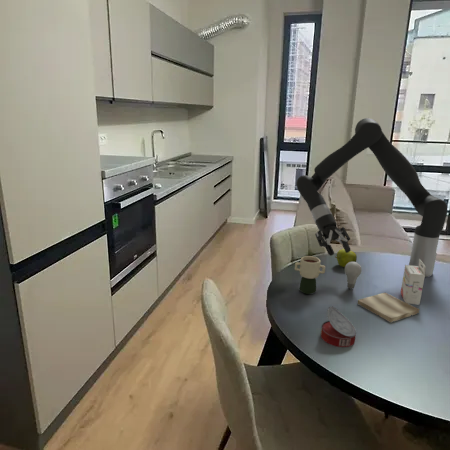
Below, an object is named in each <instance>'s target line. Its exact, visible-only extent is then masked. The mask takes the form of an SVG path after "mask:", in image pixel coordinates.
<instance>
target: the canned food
mask: <svg viewBox="0 0 450 450" xmlns="http://www.w3.org/2000/svg"><path fill="white" fill-rule="evenodd" d="M326 315H327V316H326V317H327V319H328V320H326V321H325V322H323V323H322V324H321V331H320V338H321V339H322V340H323V341H324V342H325V343H327V344H328V345H330V346H332V347H338V348H349V347H351V346H353V345H354V344H355V342H356V337H357V336H356V334H357V330H356V327H355V326H354V325H353V323H352V322H351V321H350V319H348V318H347V317H346V316H345V315H344V314H343V313H342V312H341V311H339V310H338V309H337V308H336V307H334V306H329V307H328V309H327V314H326Z"/></svg>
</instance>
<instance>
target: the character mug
mask: <svg viewBox="0 0 450 450" xmlns="http://www.w3.org/2000/svg"><path fill="white" fill-rule="evenodd" d="M321 262H322V261H321V259H320V258H319V257H317V256H311V255H306V256H302V257H300V262H298V261H296V262H295V264H294V271H296V272H299V275H300V276H301V279H300V283H299V287H298V289H299V291H300V292H301V293H303V294H307V295H311V294H312V295H313V294H315V293H316V292H317V278H318V277H319V276H320V274H321V275H324V274H325V272H326V266H325V265H323V264H321ZM298 266H299V268H298Z"/></svg>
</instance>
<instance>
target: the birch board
mask: <svg viewBox="0 0 450 450" xmlns="http://www.w3.org/2000/svg"><path fill="white" fill-rule="evenodd" d="M357 305H359V306H361V307H362V308H365V309H366V310H367V311H369V312H372V313H373V314H375V315H377V316H378V315H379V316H378V317H381V318H382V319H384V320H385V321H387V322H388V323H393V321H394V322H397V321H399V320H402V319H406V318H409V317H412V316H414V315H417V313H418V314H419V313H420V309H419V307H415V306H413V304H408V303H405V301H404V300H402V299H399V298H397V297H395V296H393V295H391V294H389V293H387V292H382V293H377V294H375V295H371V296H366V297H364V298H360V299H359V298H358V299H357ZM411 315H412V316H411Z"/></svg>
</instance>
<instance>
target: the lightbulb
mask: <svg viewBox="0 0 450 450" xmlns="http://www.w3.org/2000/svg"><path fill="white" fill-rule="evenodd" d="M362 271H363V270H362V266H361V264H360V263H358V262H357V261H356V262H349V263H347V264H346V266H345V267H344V273H345V275H346V282H347V285H346V287H347V288H348V289H349V290H353V289H354V288H355V285H356V282H357V280H358V278H359V277H360V275H361V274H362Z"/></svg>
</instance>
